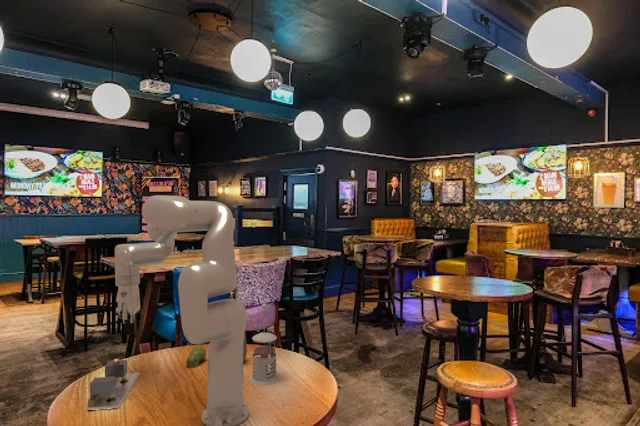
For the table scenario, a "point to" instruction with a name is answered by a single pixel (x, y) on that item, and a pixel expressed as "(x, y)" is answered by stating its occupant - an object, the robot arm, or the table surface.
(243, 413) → the robot arm
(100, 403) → the bolt plate
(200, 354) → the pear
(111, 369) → the grey block with knob
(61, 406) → the table surface
